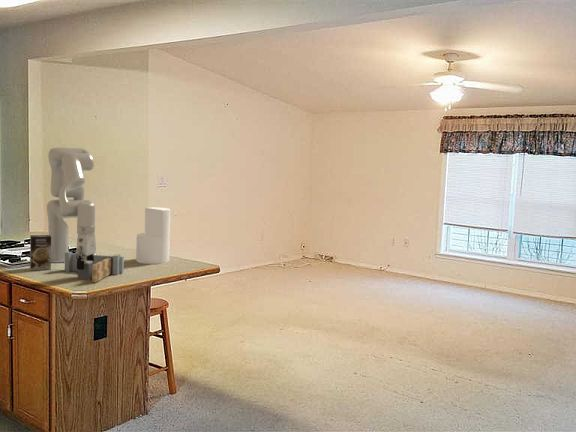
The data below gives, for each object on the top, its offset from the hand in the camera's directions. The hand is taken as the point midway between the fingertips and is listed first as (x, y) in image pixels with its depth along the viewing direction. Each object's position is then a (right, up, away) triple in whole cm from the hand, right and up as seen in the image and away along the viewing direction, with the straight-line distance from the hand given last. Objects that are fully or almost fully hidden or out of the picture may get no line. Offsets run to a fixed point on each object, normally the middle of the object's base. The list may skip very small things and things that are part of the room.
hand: (85, 267), depth 250 cm
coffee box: (-27, -2, +14) cm, 30 cm away
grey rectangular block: (0, -5, 0) cm, 5 cm away
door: (+8, -5, +1) cm, 9 cm away
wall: (-1, -4, +12) cm, 13 cm away
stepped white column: (+19, -1, +46) cm, 50 cm away
